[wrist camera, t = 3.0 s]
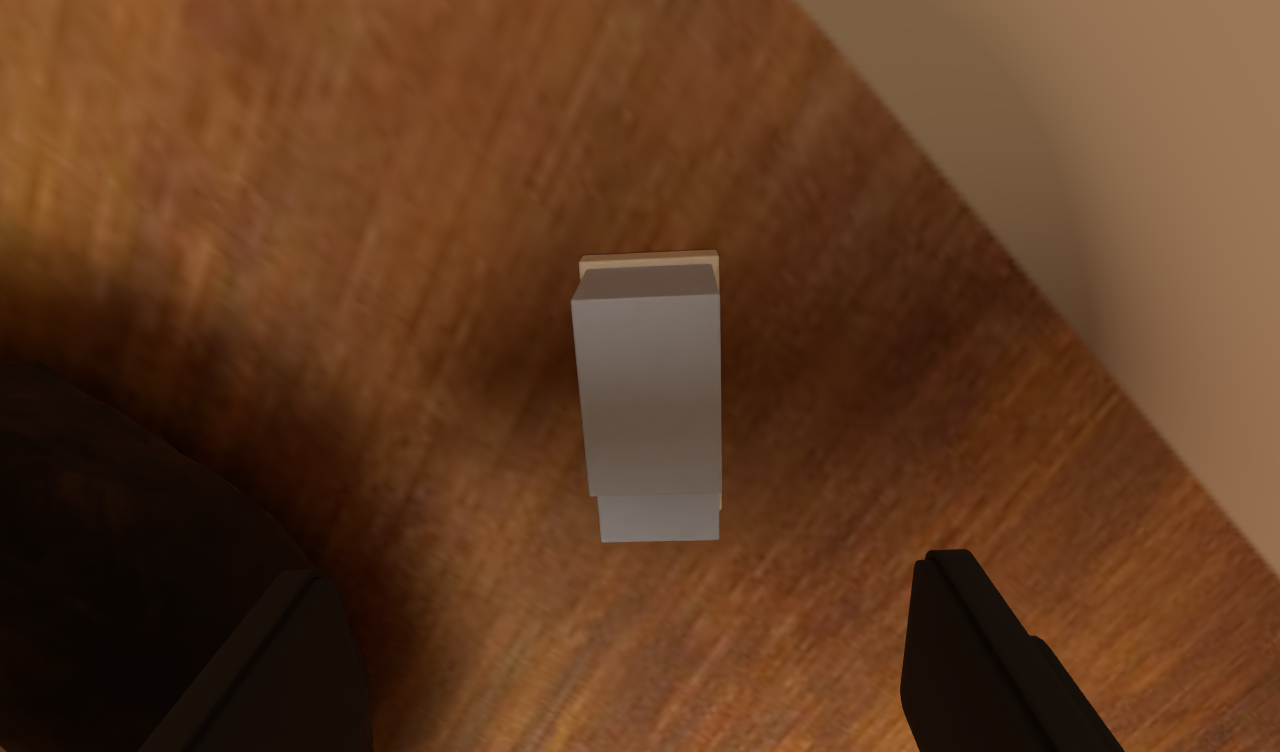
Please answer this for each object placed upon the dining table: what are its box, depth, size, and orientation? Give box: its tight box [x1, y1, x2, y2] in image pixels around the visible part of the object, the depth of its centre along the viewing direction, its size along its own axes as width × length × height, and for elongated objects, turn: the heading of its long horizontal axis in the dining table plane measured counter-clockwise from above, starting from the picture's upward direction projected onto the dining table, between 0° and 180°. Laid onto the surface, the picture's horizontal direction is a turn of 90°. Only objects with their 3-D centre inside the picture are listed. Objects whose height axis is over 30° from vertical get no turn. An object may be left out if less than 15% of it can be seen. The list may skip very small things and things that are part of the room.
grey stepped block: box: [571, 249, 722, 542], centre depth 19 cm, size 8×4×4 cm, turn 3°
